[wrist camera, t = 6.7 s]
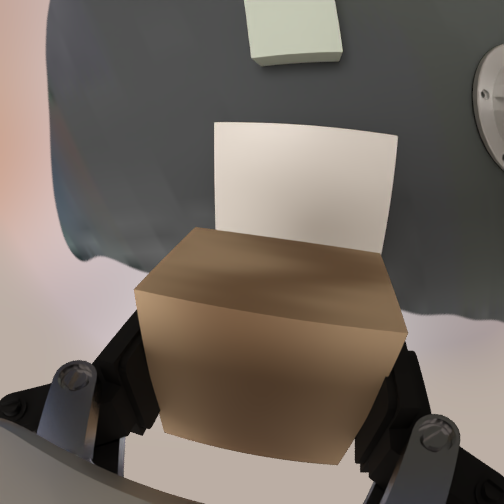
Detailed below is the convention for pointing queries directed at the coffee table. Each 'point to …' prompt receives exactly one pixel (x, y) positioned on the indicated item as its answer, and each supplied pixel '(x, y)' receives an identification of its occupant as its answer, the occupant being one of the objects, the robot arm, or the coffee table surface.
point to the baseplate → (304, 183)
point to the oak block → (268, 342)
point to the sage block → (293, 31)
